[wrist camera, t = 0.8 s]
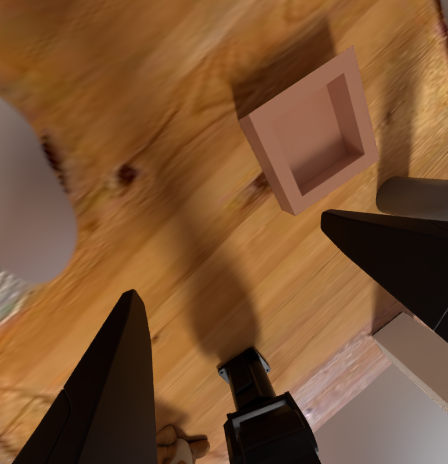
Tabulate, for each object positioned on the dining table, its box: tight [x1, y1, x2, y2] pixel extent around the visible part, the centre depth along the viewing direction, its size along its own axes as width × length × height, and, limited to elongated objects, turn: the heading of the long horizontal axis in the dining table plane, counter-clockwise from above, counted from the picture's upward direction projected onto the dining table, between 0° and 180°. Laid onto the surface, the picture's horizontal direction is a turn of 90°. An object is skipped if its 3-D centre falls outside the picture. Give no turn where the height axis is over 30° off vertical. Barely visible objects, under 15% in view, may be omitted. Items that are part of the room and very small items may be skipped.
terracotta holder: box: [239, 45, 380, 216], centre depth 21 cm, size 11×11×3 cm
